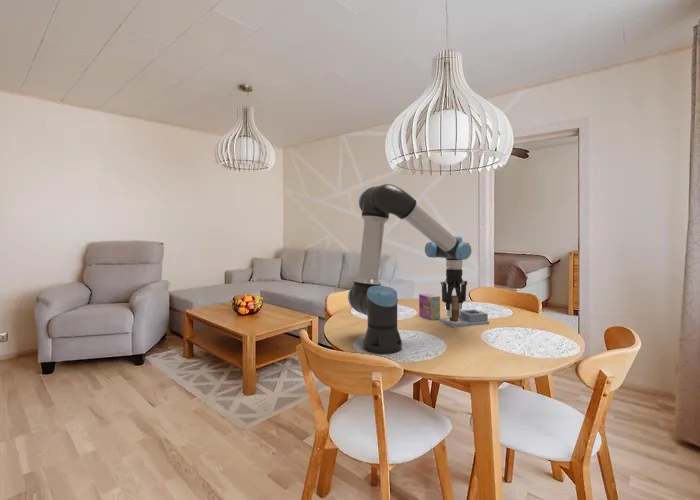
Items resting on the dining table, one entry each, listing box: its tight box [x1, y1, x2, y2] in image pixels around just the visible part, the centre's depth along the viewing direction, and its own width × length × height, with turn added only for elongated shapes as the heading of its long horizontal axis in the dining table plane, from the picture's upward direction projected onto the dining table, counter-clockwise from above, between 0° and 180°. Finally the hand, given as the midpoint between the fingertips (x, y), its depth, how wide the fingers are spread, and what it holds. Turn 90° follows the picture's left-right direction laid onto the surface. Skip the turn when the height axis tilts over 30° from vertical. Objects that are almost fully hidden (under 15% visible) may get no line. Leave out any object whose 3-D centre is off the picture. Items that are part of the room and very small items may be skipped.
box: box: [418, 292, 441, 321], centre depth 181 cm, size 10×6×12 cm, turn 25°
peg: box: [449, 294, 458, 322], centre depth 169 cm, size 4×4×12 cm
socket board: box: [438, 309, 490, 328], centre depth 171 cm, size 12×20×5 cm, turn 106°
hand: (453, 316), depth 169 cm, fingers open, 4 cm apart
